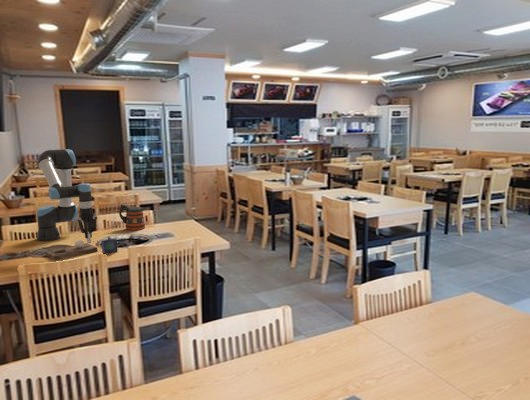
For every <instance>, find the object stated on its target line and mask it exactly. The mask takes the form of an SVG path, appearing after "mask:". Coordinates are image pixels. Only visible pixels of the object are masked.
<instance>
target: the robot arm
mask: <svg viewBox="0 0 530 400" xmlns="http://www.w3.org/2000/svg"><path fill="white" fill-rule="evenodd" d="M76 164H77V158H76V155H75V153H74V151H73V150H72V149H66V148H65V149H64V148H62V149H47V150H45V151H43V152H41V154H40V155H39V156H38V159H37V166H38V168H39V170H41V171H42V174H43V175H44V178H45V180H46V182H47V184H48V186H49V188H48V191H47V192H48V197H49V199H50V200H59V202H58V203H57V207H55V205H46V206H42V207H39V208H37V209H36V219H37V220H36V221H37V228H38V229H37V234H36V237H35V238H36V241H38V242H48V241H55V240H59V239H60V238H61V235H60V231H59V230H58V228H57V224H62V223H68V222H73V221H76V222H77V223H78V226H79V228H80V232H81V233H82V234H84V238H85V239H86V243H88V244H91V243H92V239H91V238H93V235H92V234H93V232H95V229H96V223H97V219H98V216H96V215H94V212H93V202H92V198H93V197H92V187H91V184H90V183H86V182H85V183H79V184H76V185H73V183H72V170H74V166H76ZM56 170H57V171H56ZM73 198H78V204H79V206H77V205H76V204H75V202H74V201H73ZM78 207H79V210H78ZM79 214H80V215H79ZM78 216H79V218H78Z"/></svg>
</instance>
